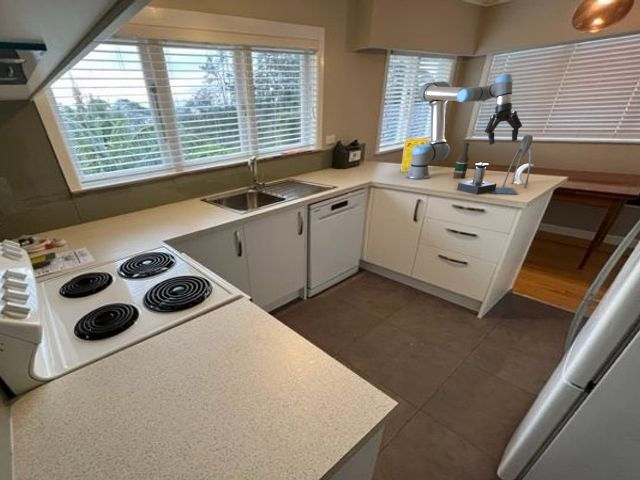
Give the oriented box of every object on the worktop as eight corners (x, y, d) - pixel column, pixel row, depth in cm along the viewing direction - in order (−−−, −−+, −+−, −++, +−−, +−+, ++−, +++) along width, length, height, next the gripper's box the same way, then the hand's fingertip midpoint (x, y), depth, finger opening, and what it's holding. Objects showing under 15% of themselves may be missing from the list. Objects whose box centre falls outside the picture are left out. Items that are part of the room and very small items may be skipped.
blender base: (474, 186, 192) (475, 179, 190) (494, 191, 180) (496, 183, 178) (456, 189, 190) (458, 182, 188) (476, 194, 177) (478, 187, 176)
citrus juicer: (526, 187, 182) (543, 135, 169) (509, 188, 182) (524, 136, 169) (512, 183, 192) (527, 133, 179) (496, 184, 192) (510, 135, 179)
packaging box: (404, 168, 262) (408, 137, 251) (425, 168, 253) (430, 137, 242) (400, 171, 250) (404, 140, 239) (422, 172, 241) (427, 139, 230)
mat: (487, 188, 187) (487, 187, 187) (511, 188, 182) (511, 187, 182) (491, 193, 176) (491, 192, 176) (516, 194, 171) (517, 193, 171)
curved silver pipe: (527, 184, 188) (533, 164, 183) (516, 184, 189) (522, 165, 184) (523, 182, 192) (528, 163, 187) (512, 182, 193) (518, 163, 188)
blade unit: (468, 189, 189) (475, 161, 181) (480, 189, 186) (487, 161, 179) (469, 191, 184) (476, 163, 176) (482, 191, 181) (489, 163, 174)
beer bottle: (454, 178, 214) (462, 143, 204) (451, 176, 221) (458, 142, 210) (467, 178, 212) (475, 143, 202) (463, 176, 219) (470, 141, 208)
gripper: (487, 105, 168) (487, 144, 172) (530, 99, 168) (529, 138, 171) (477, 109, 175) (477, 146, 179) (519, 103, 175) (518, 140, 179)
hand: (503, 142), depth 175 cm, fingers open, 13 cm apart
